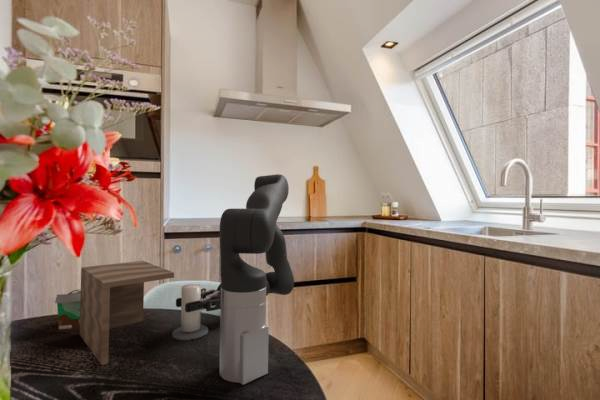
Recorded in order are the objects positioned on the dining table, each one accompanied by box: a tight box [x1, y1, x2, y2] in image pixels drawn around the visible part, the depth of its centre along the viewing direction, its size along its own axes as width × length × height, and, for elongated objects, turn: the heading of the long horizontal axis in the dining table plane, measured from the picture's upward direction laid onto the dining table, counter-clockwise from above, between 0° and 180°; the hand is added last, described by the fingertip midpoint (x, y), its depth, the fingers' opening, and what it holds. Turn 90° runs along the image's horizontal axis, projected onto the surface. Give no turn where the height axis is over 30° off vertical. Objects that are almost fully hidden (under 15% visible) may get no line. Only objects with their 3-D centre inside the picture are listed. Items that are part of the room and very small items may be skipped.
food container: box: [54, 288, 81, 333], centre depth 87 cm, size 12×6×10 cm, turn 179°
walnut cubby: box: [79, 260, 175, 366], centre depth 79 cm, size 21×15×17 cm
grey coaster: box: [171, 324, 209, 341], centre depth 83 cm, size 9×9×1 cm
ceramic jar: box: [180, 283, 202, 332], centre depth 83 cm, size 5×5×11 cm
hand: (181, 305), depth 81 cm, fingers closed on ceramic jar, 4 cm apart
